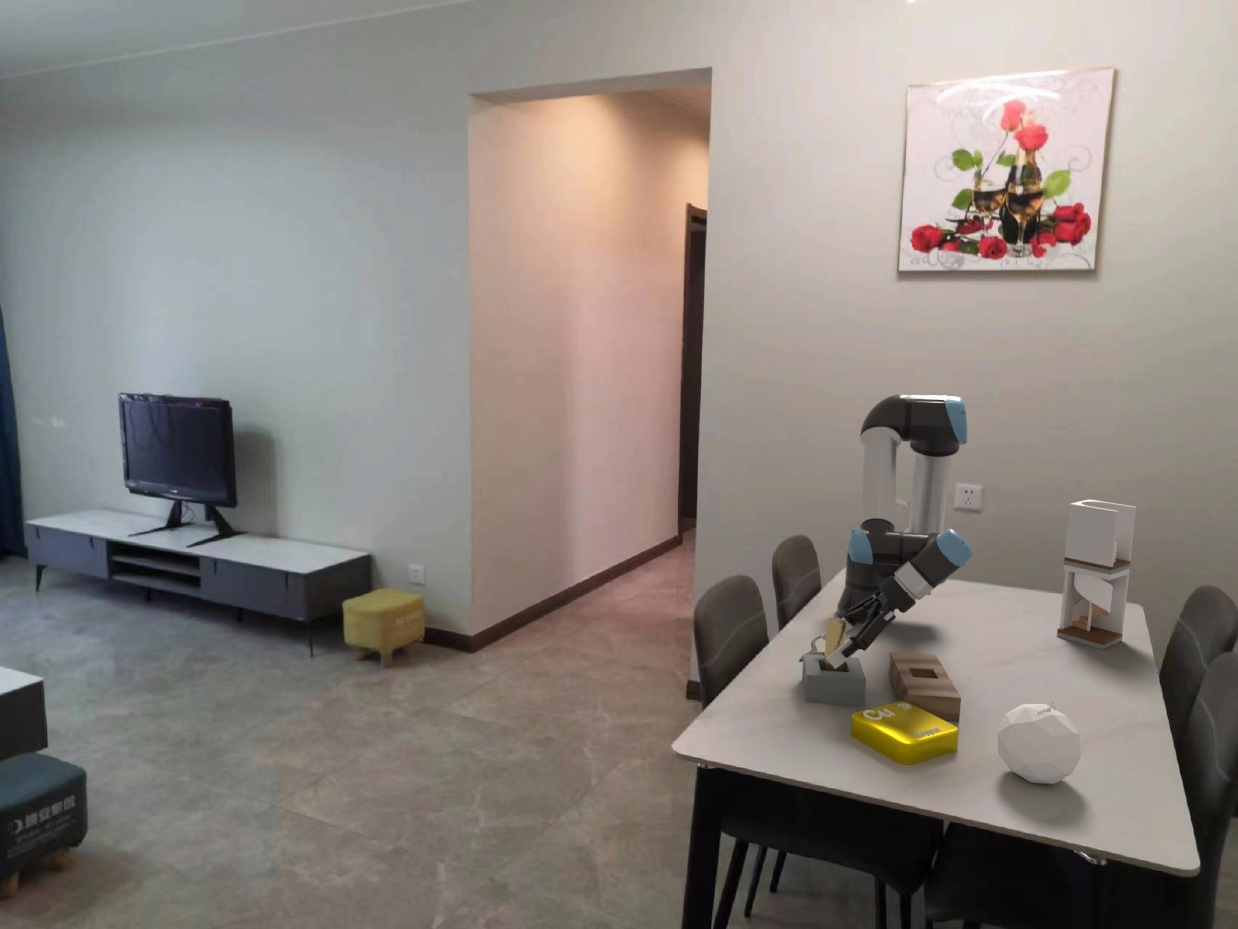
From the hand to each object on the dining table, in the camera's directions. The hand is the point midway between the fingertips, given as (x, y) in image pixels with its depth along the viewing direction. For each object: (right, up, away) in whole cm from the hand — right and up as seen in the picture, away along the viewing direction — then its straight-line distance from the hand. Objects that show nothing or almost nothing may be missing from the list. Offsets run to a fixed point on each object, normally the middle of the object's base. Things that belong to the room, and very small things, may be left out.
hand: (827, 652), depth 187 cm
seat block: (+1, -9, +1) cm, 9 cm away
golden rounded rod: (+1, -9, +1) cm, 9 cm away
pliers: (+6, -6, +26) cm, 27 cm away
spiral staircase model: (+76, -5, +38) cm, 85 cm away
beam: (+20, -9, +1) cm, 22 cm away
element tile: (+9, -13, -20) cm, 26 cm away
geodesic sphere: (+28, -15, -33) cm, 46 cm away
